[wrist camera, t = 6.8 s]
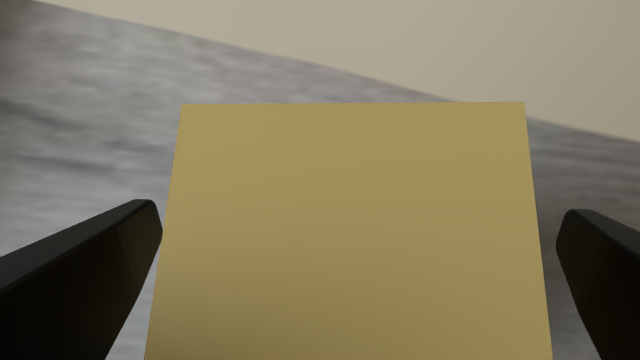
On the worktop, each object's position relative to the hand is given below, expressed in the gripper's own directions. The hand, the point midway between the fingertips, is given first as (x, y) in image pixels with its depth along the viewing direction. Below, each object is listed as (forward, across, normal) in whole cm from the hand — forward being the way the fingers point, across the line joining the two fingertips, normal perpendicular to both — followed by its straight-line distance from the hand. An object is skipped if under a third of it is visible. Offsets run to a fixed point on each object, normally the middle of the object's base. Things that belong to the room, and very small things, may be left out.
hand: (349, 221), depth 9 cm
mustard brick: (+5, 0, +7) cm, 8 cm away
